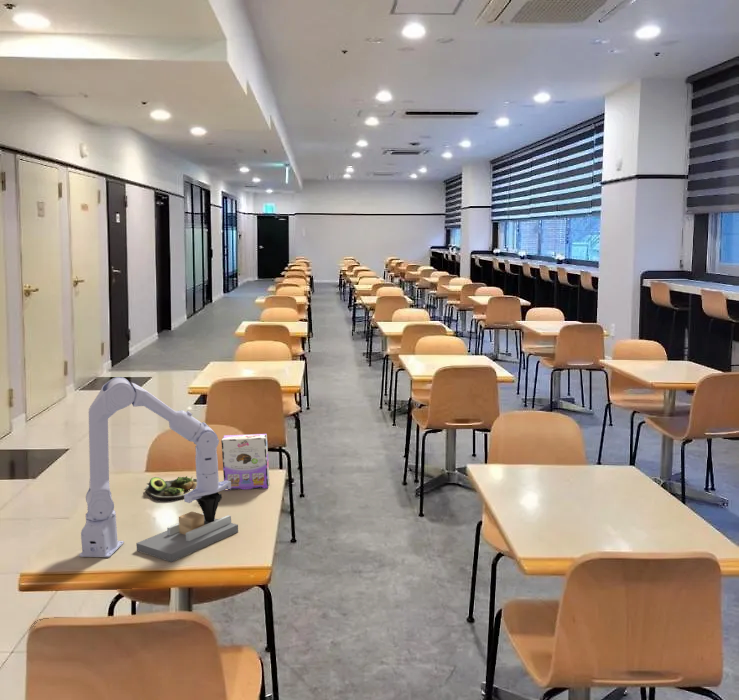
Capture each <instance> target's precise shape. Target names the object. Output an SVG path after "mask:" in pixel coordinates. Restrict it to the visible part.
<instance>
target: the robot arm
mask: <svg viewBox="0 0 739 700" xmlns="http://www.w3.org/2000/svg"><path fill="white" fill-rule="evenodd" d="M130 405H132V406H133V407H145V408H146V409H148V410H150V411H151V412H152V413H155V414H156V415H157V416H159V417H161V418H162V419H164V420H165V421H168V425H169V429H170V430H172V431H173V432H175V433H176V434H178V435H179V436H181V437H182V438H184V439H185V440H187V441H188V442H191V443H193V444H194V445H196V446H195V447H194V448H195V475H196V477H195V478H196V479H197V486H196V489H194V490H190V491H188V492H186V493H185V494H183V495H184V498H183V501H184V503H187V504H190V503H193V501H196V503H198V505H199V507H200V509H201V512H202V513H203V514H204V517H205V521H207V522H213V521H214V519H216V513H217V510H218V506H219V504H220V502H221V500H222V498H223V496H222V493H219V492H221V491H223V490H224V491H226V490H225V489H230V488H231V481H227V480H225V481H224V480H223V481H220V480H219V462H218V453H217V452H218V451H217V450H218V446H219V443H220V439H219V438H218V435H217V433H216V432H215V431H214V430H213V428H211V427H210V426H209V425H207V423H206V422H204V421H202V422H201V420H198V419H197V418H196V417H194V416H193V413H192V412H191V411H189V410H187V411H185V410H183V409H181V410H175V409H173V408H172V407H171V406H169V405H167V404H166V403H165V402H163V401H162V400H161V399H159V398H158V397H156V396H155V395H154V394H153V393H151V392H149V390H147V389H145V388H143V387H142V386H140V385H138V384H136V383H134V382H131V383H130V381H129V380H128V379H127V378H125V377H122V376H116V377H113V378H111V379H110V380H108V381H107V382H106V383H104V384H103V385H102V386H101V389H100V390H99V392H98V394H97V395H96V396H95V399H94V400H93V401H92V403H91V405H90V406H89V408H88V444H89V445H88V447H89V449H88V452H89V453H88V454H89V455H88V456H89V484H88V485H89V486H88V490H87V492H86V495H85V502H86V506H87V512H86V513H85V524H84V526H83V528H82V529H81V532H80V539H81V550H82V551H81V552H80V553H79V554H78V556H79V557H80V558H83V557H84V558H110V557H112V555H114V553H115V552H116V551H117V550H118V549H119V548H121V546H122V545H123V544H124V543H125V541H124V540H118V529H117V528H118V527H117V516H116V515H117V513H116V512H117V511H116V510H115V504H114V503H115V502H114V501H113V498H112V491H111V488H110V473H109V472H110V470H109V469H110V466H109V463H110V459H109V455H110V454H109V453H110V452H109V419H110V418H111V417H112V416H113V415H114V414H115V413H116V412H117V411H120V410H122V409H124V408H127V407H129V406H130Z"/></svg>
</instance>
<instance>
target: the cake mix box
mask: <svg viewBox="0 0 739 700" xmlns="http://www.w3.org/2000/svg"><path fill="white" fill-rule="evenodd" d="M220 442H221V456H222V470H223V481H225V480H227V481H231V488H230V490H229V491H235V490H236V491H240V489H242V490H259V489H261V490H265V489H269V486H270V468H269V467H270V466H269V462H270V461H269V451H268V450H269V449H268V448H269V447H268V446H269V445H268V435H267V433H252V434H249V433H248V434H227V435H226V434H223V437H222V439H221V441H220ZM238 489H239V490H238Z"/></svg>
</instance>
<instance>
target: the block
mask: <svg viewBox="0 0 739 700" xmlns="http://www.w3.org/2000/svg"><path fill="white" fill-rule="evenodd" d="M178 523H179V530H180V533H181V534H184V535H186V533H187V532H189V531H192V530H194V529H196V528H199V527H201V526H203V525H204V515H203V514H202V513H199V512H194V511H190V512H186V513H184V514H182V515H179V516H178Z"/></svg>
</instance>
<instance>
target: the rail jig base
mask: <svg viewBox="0 0 739 700" xmlns="http://www.w3.org/2000/svg"><path fill="white" fill-rule="evenodd" d="M201 514H203V512H202V513H201ZM203 515H204V514H203ZM238 532H239V524H236V523H234V522H232V515H229V514H227V515H226V516H221V517H220V518H215V519H214V521H213V522H207V521H205V517H204V525H203V526H201V527H199V528H196V529H194V530H192V531H189V532H187V533H186V535H184V534H181V533H180V530H179V522H178V523H175V524H173V525H170V526H167V527H166V530H165V531H163V532H161V533H158V534H156V535H152V536H150V537H148V538H146V539H143V540H140V541H138V542H136V545H135V546H136V551H137V552H140V553H143V554H146V555H149V556H152V557H155V558H158V559H160V560H165V561H167V562H170V563H172V562H175V561H177V560H179V559H181V558H183V557H186V556H187V555H190V554H192V553H194V552H196V550H197V551H199V550H202V549H203V547H204V548H205V546H206V547H208V546H210V545H212V544H214V542H215V543H216V541H217V542H219V541H221V540H223V539H226V538H228V537H230V536H232V535H235V534H237V533H238ZM209 544H210V545H209ZM207 545H208V546H207ZM198 549H199V550H198Z"/></svg>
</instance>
